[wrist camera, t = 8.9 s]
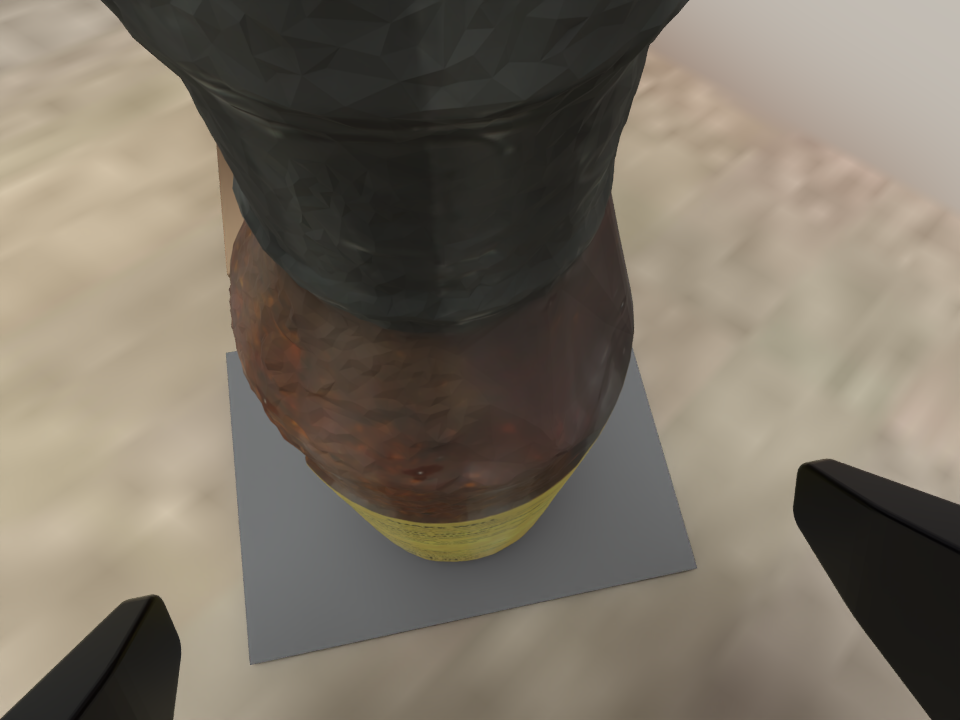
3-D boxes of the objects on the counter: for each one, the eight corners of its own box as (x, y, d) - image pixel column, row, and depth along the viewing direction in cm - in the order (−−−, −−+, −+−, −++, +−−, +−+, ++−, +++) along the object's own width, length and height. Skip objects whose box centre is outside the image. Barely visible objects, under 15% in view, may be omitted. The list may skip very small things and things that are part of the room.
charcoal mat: (692, 568, 21) (697, 568, 21) (253, 663, 20) (249, 664, 19) (612, 292, 24) (614, 287, 24) (229, 356, 23) (225, 353, 22)
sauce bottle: (585, 490, 21) (1534, -202, 3) (425, 606, 20) (62, 863, 1) (472, 336, 23) (567, -764, 4) (317, 434, 22) (-536, -562, 3)
